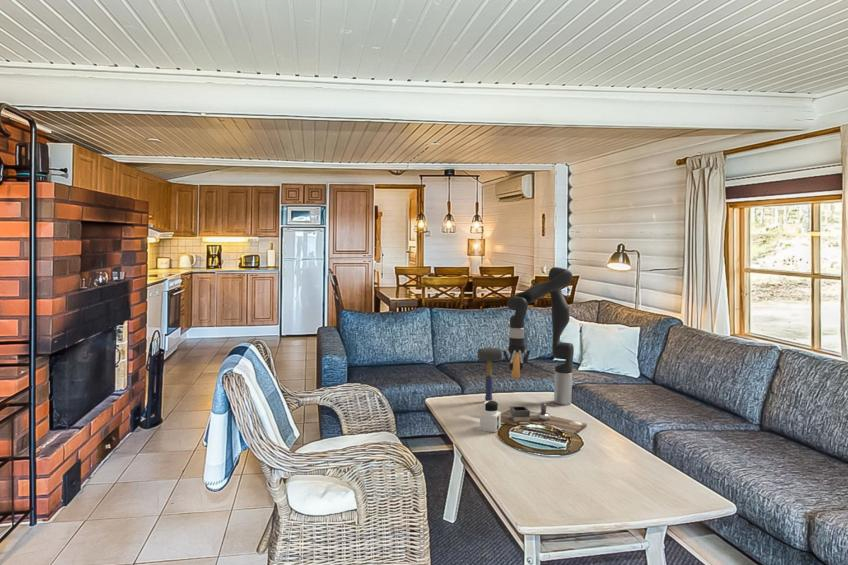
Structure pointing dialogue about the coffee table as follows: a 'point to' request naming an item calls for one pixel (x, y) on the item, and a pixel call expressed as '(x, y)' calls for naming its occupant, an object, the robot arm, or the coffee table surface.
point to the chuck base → (562, 423)
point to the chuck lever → (528, 414)
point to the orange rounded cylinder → (516, 366)
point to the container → (490, 417)
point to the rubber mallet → (489, 366)
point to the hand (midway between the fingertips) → (515, 369)
